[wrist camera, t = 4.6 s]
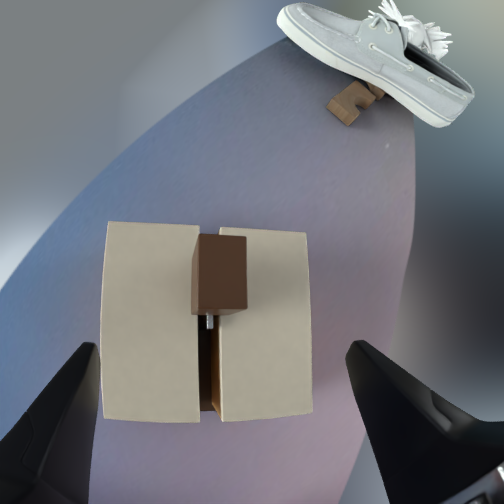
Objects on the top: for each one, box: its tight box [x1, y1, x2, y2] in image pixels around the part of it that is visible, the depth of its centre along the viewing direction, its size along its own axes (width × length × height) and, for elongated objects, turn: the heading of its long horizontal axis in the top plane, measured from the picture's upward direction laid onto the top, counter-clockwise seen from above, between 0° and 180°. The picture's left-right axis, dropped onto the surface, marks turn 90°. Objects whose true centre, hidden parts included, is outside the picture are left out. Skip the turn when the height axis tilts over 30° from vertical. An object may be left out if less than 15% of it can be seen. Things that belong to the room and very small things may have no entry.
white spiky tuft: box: [368, 0, 452, 60], centre depth 30 cm, size 11×12×8 cm
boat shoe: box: [277, 2, 475, 128], centre depth 27 cm, size 25×9×8 cm, turn 65°
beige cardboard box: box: [100, 221, 312, 423], centre depth 19 cm, size 12×12×5 cm
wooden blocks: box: [326, 80, 387, 126], centre depth 33 cm, size 30×3×7 cm
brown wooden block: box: [191, 234, 248, 330], centre depth 17 cm, size 4×2×9 cm, turn 1°
